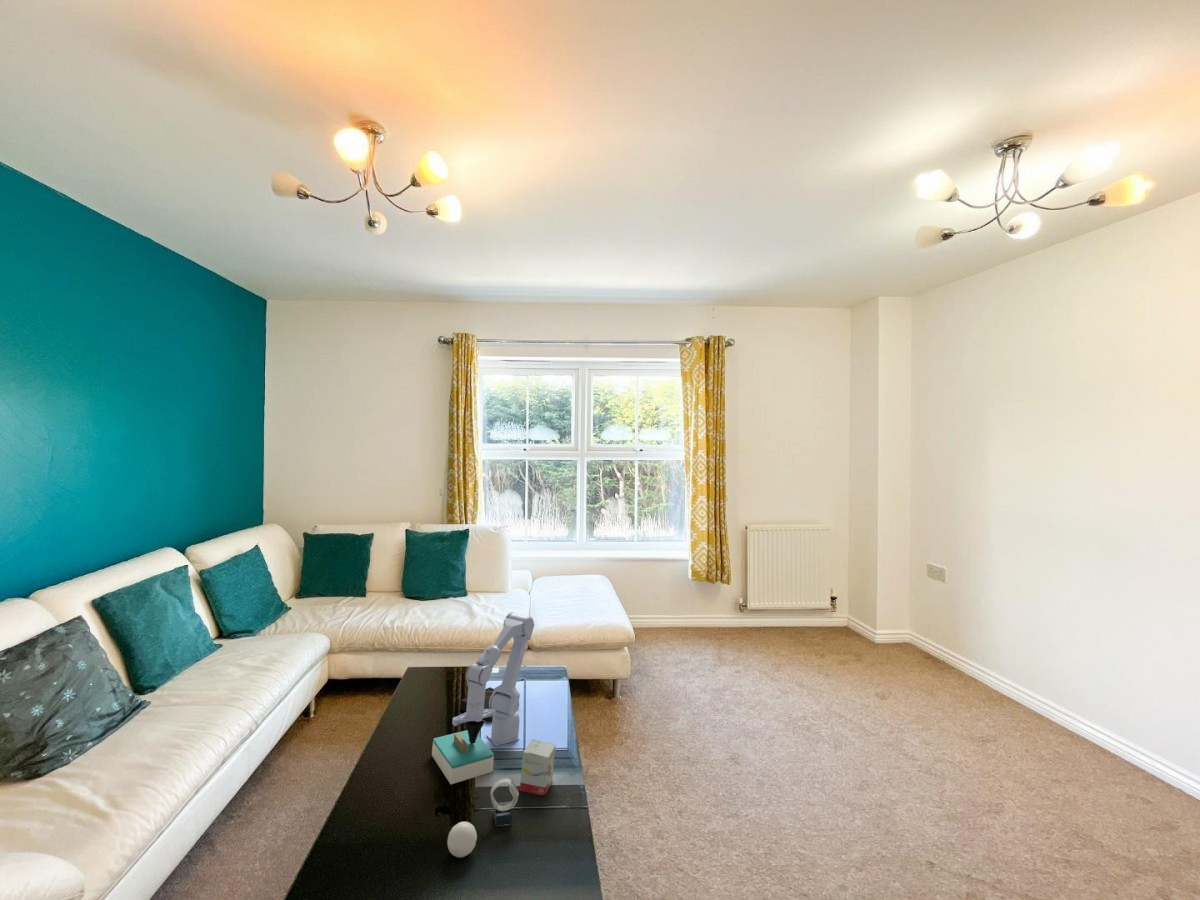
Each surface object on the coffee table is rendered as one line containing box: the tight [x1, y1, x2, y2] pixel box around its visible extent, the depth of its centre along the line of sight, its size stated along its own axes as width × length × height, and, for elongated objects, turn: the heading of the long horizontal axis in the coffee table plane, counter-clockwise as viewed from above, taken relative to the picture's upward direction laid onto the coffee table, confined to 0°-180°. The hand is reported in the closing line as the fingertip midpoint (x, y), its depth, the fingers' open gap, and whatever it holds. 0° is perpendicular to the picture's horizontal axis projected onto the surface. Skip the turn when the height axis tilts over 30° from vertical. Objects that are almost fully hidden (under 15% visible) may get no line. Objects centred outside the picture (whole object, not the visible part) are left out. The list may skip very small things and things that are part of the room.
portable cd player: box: [459, 686, 510, 723], centre depth 209 cm, size 16×17×4 cm
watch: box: [489, 777, 520, 826], centre depth 145 cm, size 6×8×11 cm
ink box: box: [519, 739, 557, 796], centre depth 162 cm, size 9×9×12 cm
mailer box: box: [431, 741, 495, 785], centre depth 170 cm, size 14×18×5 cm
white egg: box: [446, 821, 478, 858], centre depth 133 cm, size 10×7×7 cm
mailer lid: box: [432, 729, 495, 768], centre depth 170 cm, size 14×18×3 cm
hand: (472, 741), depth 172 cm, fingers closed
